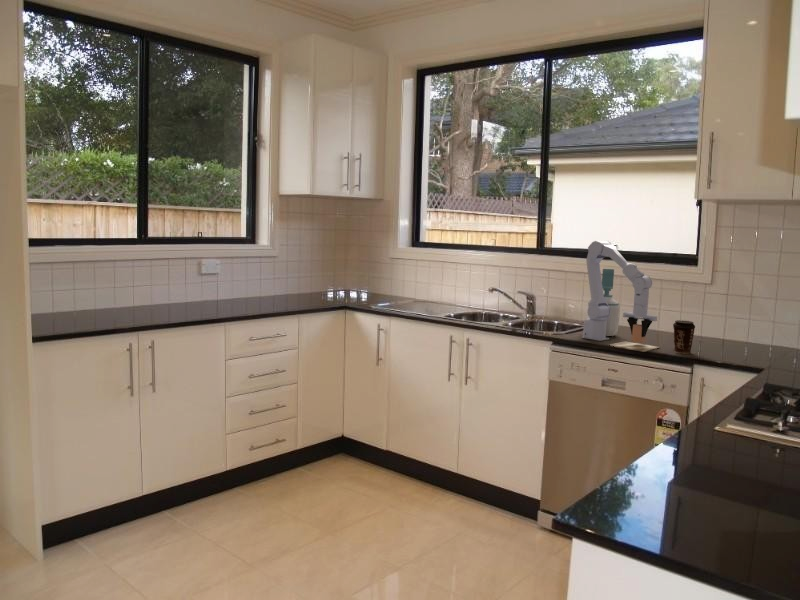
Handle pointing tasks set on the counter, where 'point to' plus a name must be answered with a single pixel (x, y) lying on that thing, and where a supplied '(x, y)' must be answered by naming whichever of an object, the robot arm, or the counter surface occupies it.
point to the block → (637, 333)
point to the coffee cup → (683, 336)
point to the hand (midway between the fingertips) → (638, 335)
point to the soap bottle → (610, 302)
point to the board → (634, 346)
